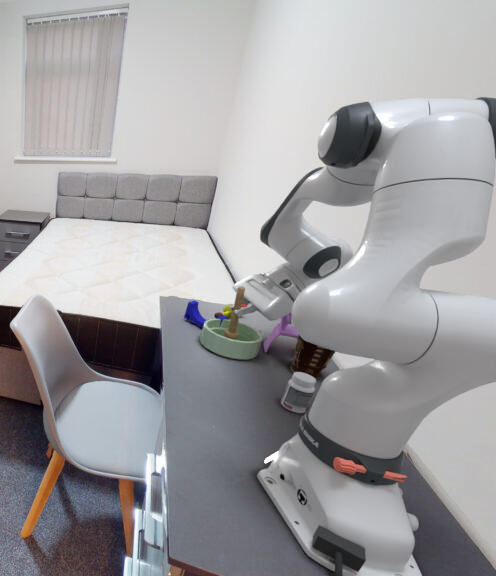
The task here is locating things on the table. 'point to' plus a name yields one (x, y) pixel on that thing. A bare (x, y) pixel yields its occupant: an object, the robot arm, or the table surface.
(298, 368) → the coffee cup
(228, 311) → the toy figure
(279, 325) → the toy chair
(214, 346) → the bowl
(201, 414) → the table surface
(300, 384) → the pill bottle
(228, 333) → the stirring stick
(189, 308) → the blue curved piece
